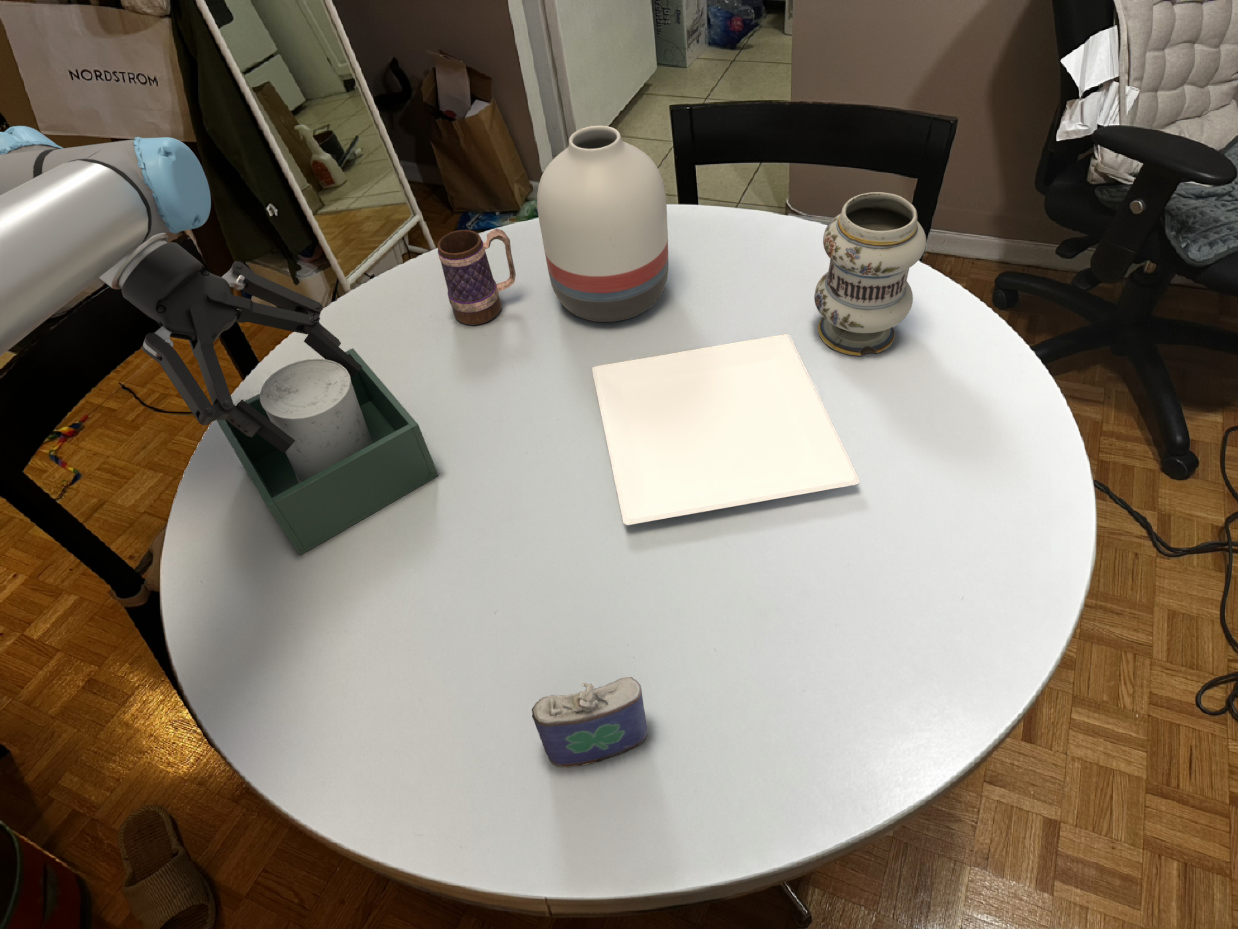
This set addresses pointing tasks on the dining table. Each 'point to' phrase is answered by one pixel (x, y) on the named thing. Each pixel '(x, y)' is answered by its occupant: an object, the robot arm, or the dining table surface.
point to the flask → (591, 723)
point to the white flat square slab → (717, 429)
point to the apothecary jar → (868, 272)
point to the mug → (472, 275)
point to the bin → (339, 468)
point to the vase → (604, 226)
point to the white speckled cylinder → (315, 414)
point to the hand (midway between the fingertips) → (324, 408)
